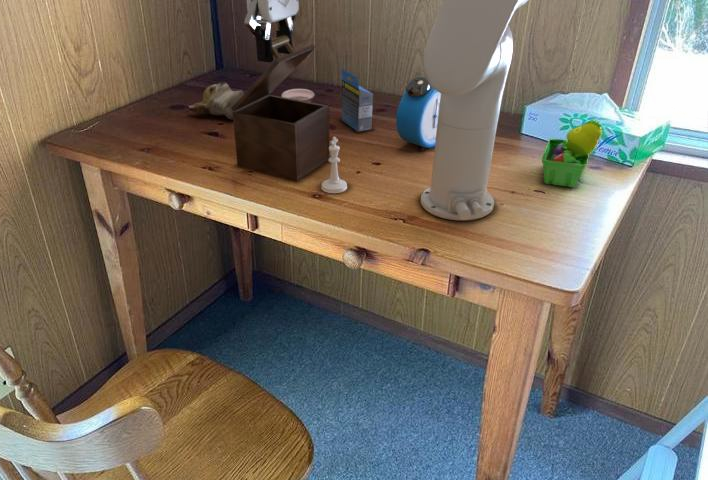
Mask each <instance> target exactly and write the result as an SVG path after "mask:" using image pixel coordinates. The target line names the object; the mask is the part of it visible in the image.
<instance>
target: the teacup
mask: <svg viewBox="0 0 708 480" xmlns="http://www.w3.org/2000/svg"><path fill="white" fill-rule="evenodd" d="M281 97H285V98H290V99H296V100H301V101H307V102H312V101H313V100H314V99H315V92H313V91H312V90H311V89H307V88H291V89H288V90H285V91H282V94H281Z"/></svg>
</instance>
